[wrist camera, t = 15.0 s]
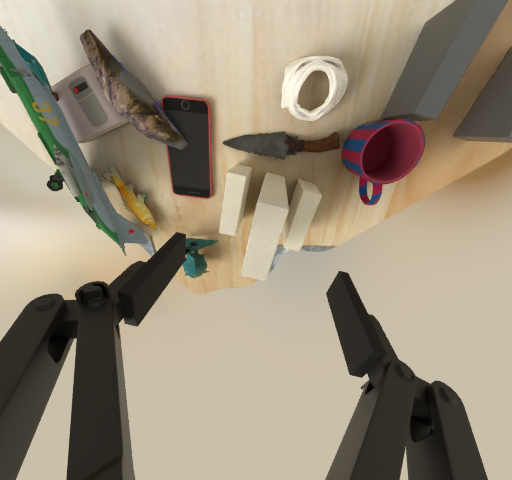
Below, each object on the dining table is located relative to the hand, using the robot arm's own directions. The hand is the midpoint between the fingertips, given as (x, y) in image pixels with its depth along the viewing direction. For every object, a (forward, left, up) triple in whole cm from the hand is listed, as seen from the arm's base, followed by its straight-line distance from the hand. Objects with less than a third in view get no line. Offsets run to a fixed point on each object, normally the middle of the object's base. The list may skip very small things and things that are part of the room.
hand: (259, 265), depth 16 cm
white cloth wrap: (-15, +2, -19) cm, 24 cm away
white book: (0, 0, -19) cm, 19 cm away
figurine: (+11, -14, -17) cm, 25 cm away
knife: (-8, 0, -19) cm, 20 cm away
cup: (-9, +12, -19) cm, 24 cm away
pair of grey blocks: (-19, +18, -19) cm, 32 cm away
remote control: (-7, -29, -19) cm, 35 cm away
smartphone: (-4, -14, -19) cm, 24 cm away
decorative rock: (-11, -19, -17) cm, 28 cm away
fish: (+4, -21, -17) cm, 28 cm away
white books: (0, 0, -19) cm, 19 cm away
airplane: (+1, -32, -10) cm, 33 cm away
